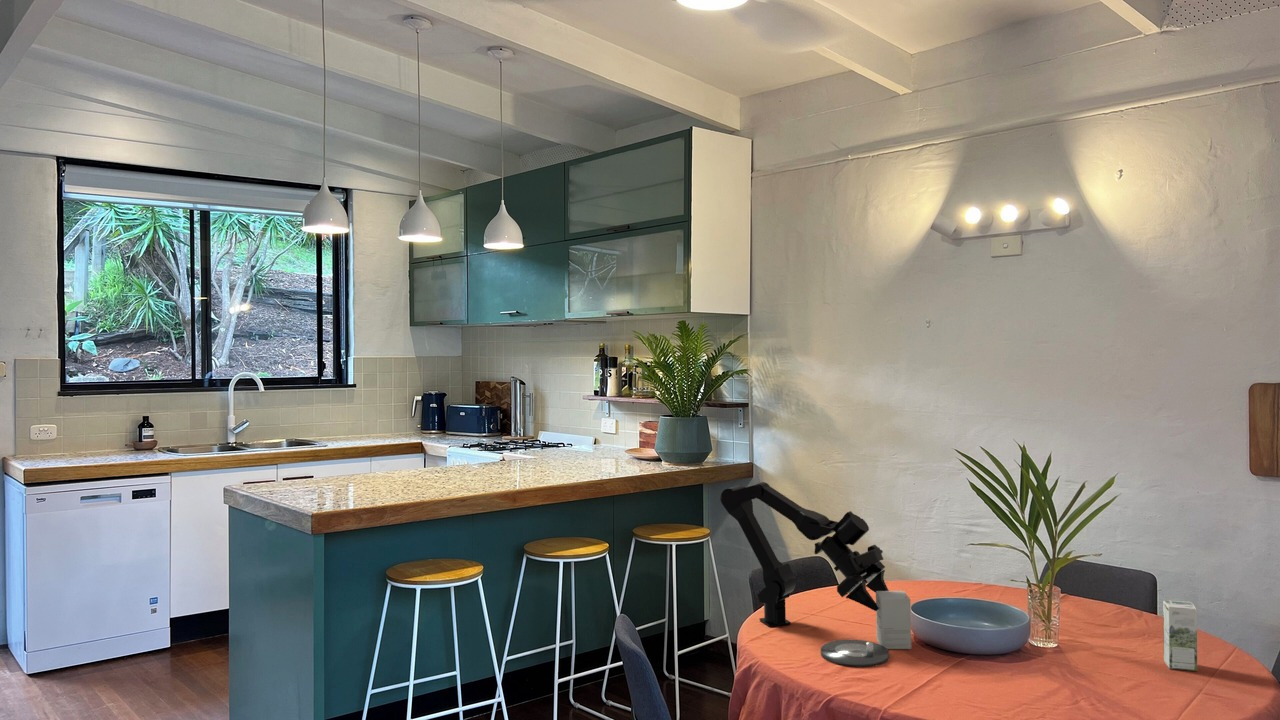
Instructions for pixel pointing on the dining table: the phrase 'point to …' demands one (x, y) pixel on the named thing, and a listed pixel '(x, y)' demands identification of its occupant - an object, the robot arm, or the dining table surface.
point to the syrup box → (1180, 635)
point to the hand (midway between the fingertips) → (884, 605)
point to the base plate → (854, 653)
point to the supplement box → (893, 619)
